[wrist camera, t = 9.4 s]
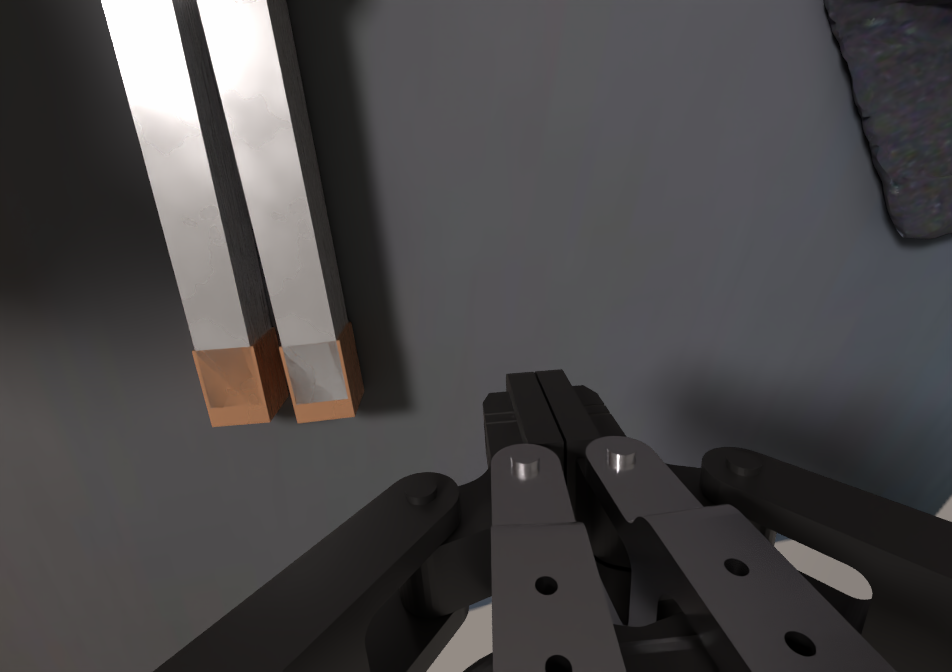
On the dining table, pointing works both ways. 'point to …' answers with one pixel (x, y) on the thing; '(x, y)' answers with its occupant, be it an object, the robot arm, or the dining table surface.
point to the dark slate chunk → (904, 102)
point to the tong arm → (285, 201)
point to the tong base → (200, 205)
